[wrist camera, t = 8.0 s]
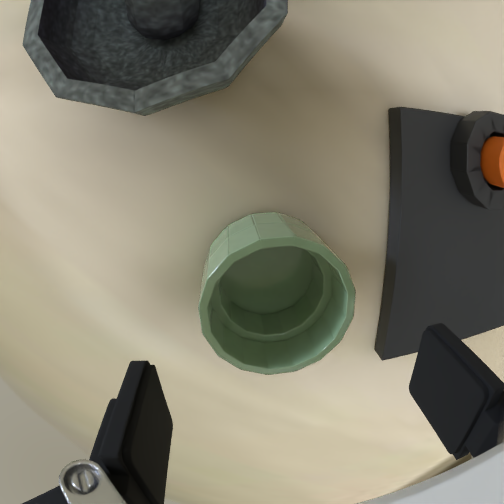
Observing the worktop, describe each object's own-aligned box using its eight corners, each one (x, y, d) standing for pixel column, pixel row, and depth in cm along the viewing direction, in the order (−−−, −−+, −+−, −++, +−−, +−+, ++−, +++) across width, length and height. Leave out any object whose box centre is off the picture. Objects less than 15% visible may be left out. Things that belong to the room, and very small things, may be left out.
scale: (387, 100, 15) (415, 96, 13) (520, 126, 16) (548, 128, 13) (374, 349, 21) (391, 375, 18) (495, 317, 22) (515, 334, 19)
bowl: (198, 215, 17) (189, 244, 12) (324, 206, 17) (359, 231, 13) (212, 325, 19) (210, 379, 14) (322, 314, 20) (348, 363, 15)
